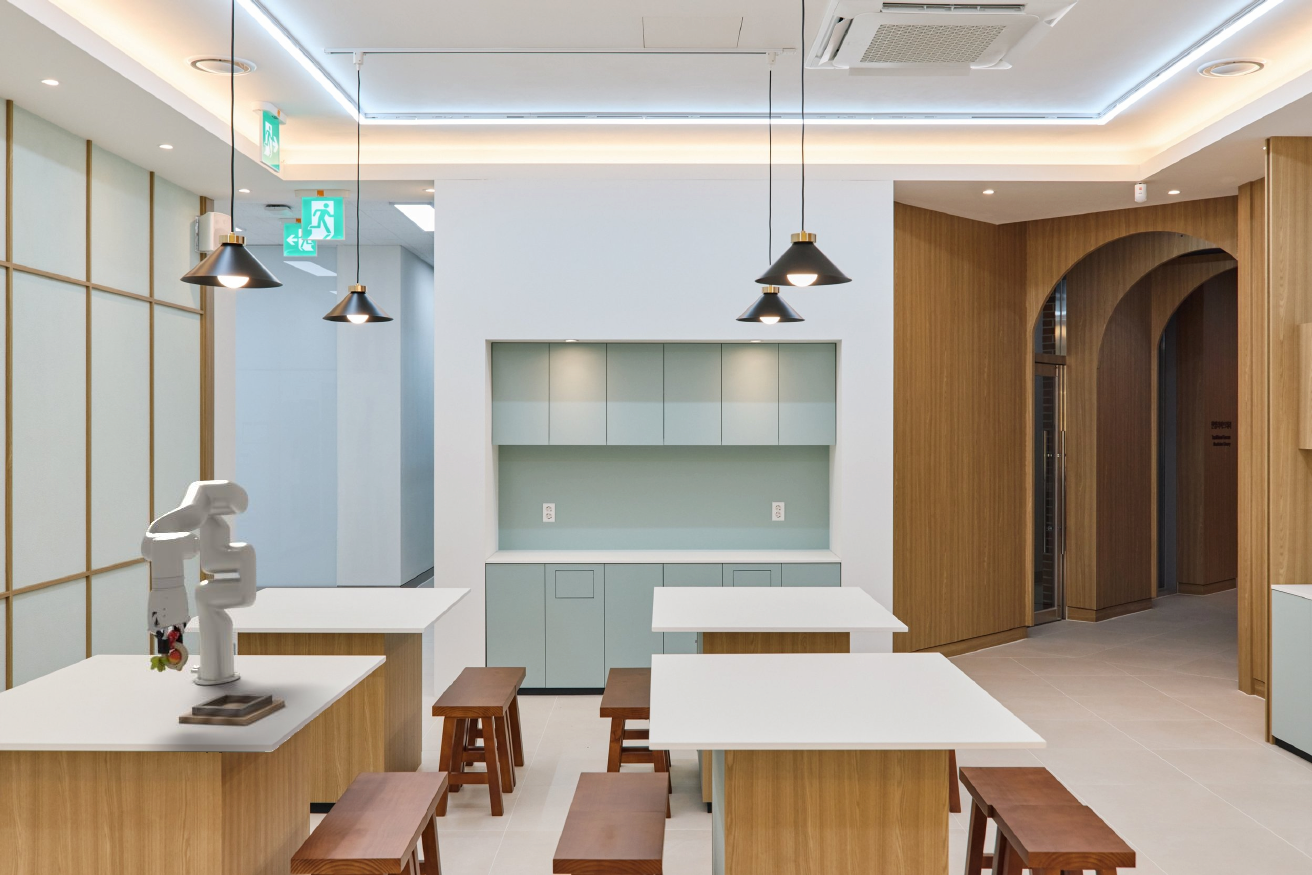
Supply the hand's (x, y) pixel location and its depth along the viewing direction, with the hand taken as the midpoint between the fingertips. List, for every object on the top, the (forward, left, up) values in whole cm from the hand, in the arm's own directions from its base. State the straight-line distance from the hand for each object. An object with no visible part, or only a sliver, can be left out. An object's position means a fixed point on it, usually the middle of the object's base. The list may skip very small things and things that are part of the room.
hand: (170, 650), depth 240 cm
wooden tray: (+12, +8, -19) cm, 24 cm away
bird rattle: (0, 0, -6) cm, 6 cm away
